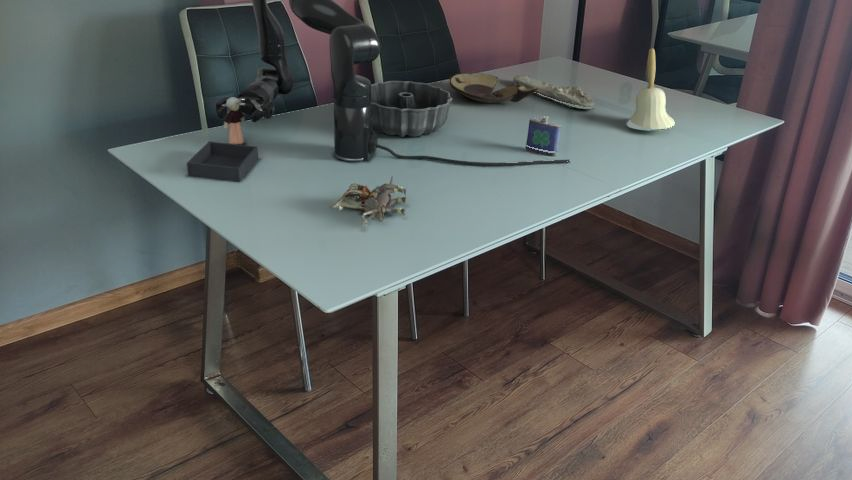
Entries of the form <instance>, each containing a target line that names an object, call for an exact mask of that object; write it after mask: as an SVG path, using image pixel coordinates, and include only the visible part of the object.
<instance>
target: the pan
mask: <svg viewBox="0 0 852 480" xmlns="http://www.w3.org/2000/svg"><path fill="white" fill-rule="evenodd" d="M259 159H260V157H259V147H258V146H257V145H256V146H254V145H248V144H247V145H246V144H243V145H238V144H229V142H228V143H227V142H218V141H208V142H206V143H205V145H203V146H202V148H200V149H199V150H198V151H197V152H195V154H194V155H193V156H192V157H191V158H190V159H189V160H188V161H187V162H186V170H187V176H188V177H190V178H191V177H192V178H201V179H202V178H203V179H210V180H218V181H219V180H220V181H227V182H228V181H230V182H239V183H240V182H241V181H242V180H243V179H244V178H245V176H246V175H247V174H248V173H249V172H250V171H251V169H252V168H253V167H254V166H255V164H256V163H257V162H258V161H259Z"/></svg>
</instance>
